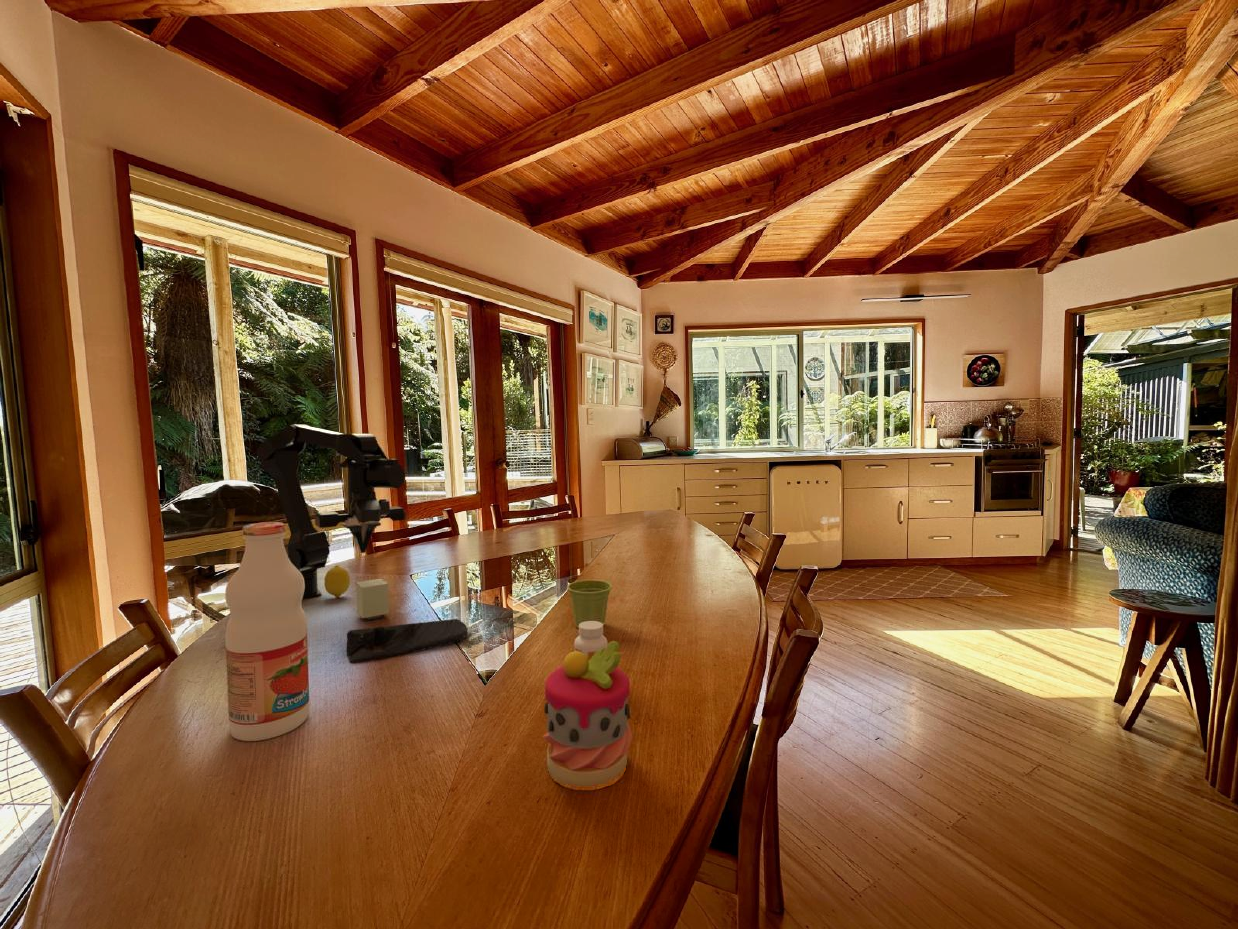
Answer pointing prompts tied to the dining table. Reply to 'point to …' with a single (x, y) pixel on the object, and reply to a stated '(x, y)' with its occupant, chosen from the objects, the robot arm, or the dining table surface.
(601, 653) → the cake
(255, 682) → the fruit juice
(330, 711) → the dining table surface
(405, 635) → the dark slate chunk
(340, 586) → the lemon
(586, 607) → the plant pot
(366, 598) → the cream rectangular block
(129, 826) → the dining table surface
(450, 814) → the dining table surface
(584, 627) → the supplement bottle
